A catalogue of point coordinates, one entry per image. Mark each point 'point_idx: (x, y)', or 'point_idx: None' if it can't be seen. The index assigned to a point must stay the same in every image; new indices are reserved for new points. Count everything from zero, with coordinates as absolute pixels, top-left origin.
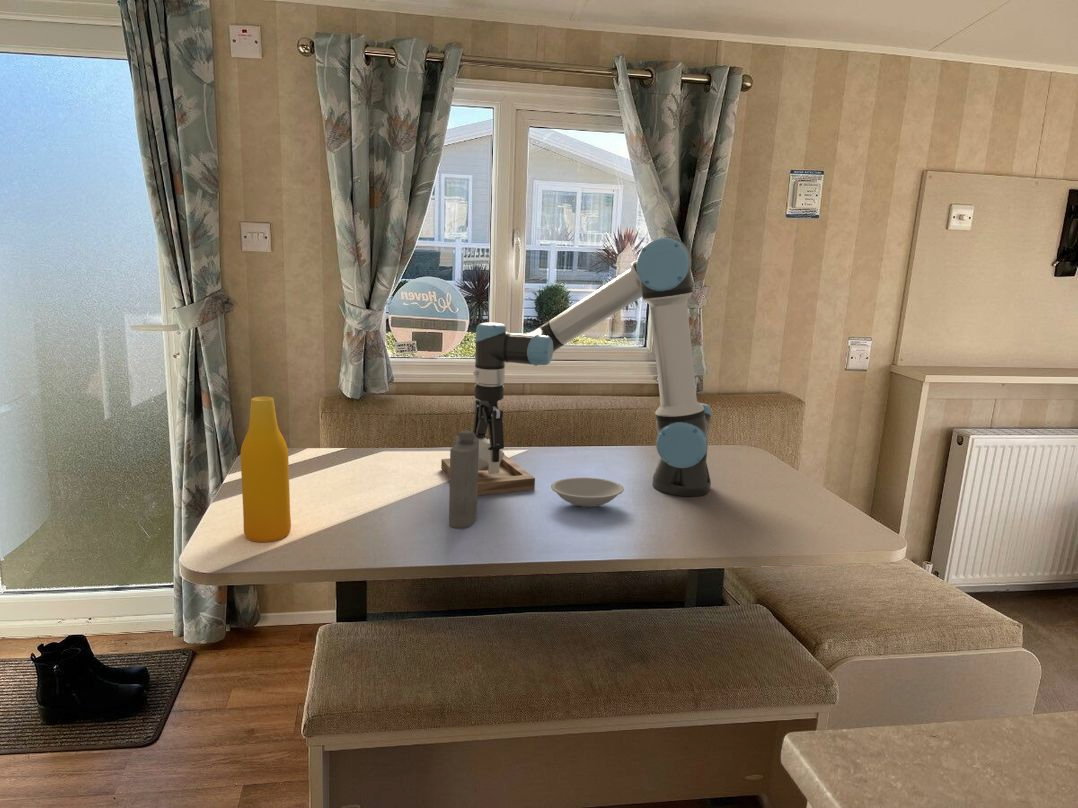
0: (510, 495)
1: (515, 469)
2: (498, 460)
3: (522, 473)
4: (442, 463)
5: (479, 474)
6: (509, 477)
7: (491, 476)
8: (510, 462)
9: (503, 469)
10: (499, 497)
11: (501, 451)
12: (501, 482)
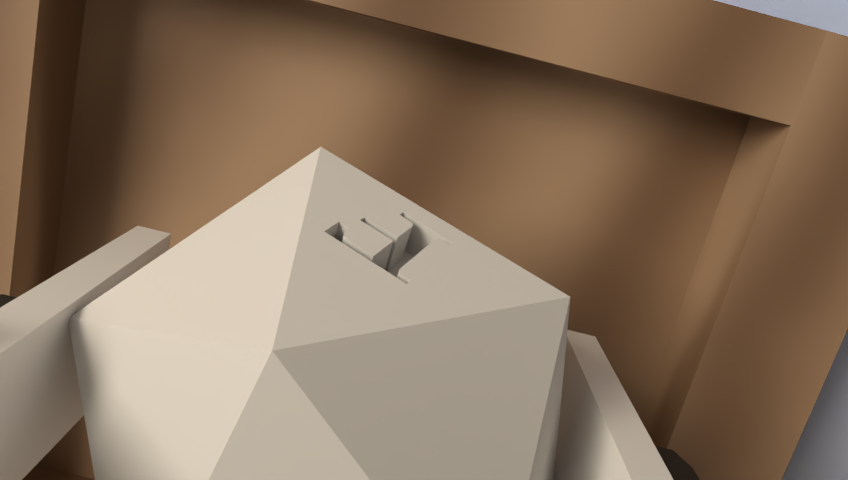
0: (843, 356)
1: (556, 64)
2: (687, 472)
3: (737, 93)
4: None
5: None
6: (751, 306)
7: None
8: None
9: (275, 29)
10: (817, 457)
11: (546, 348)
12: (792, 440)
